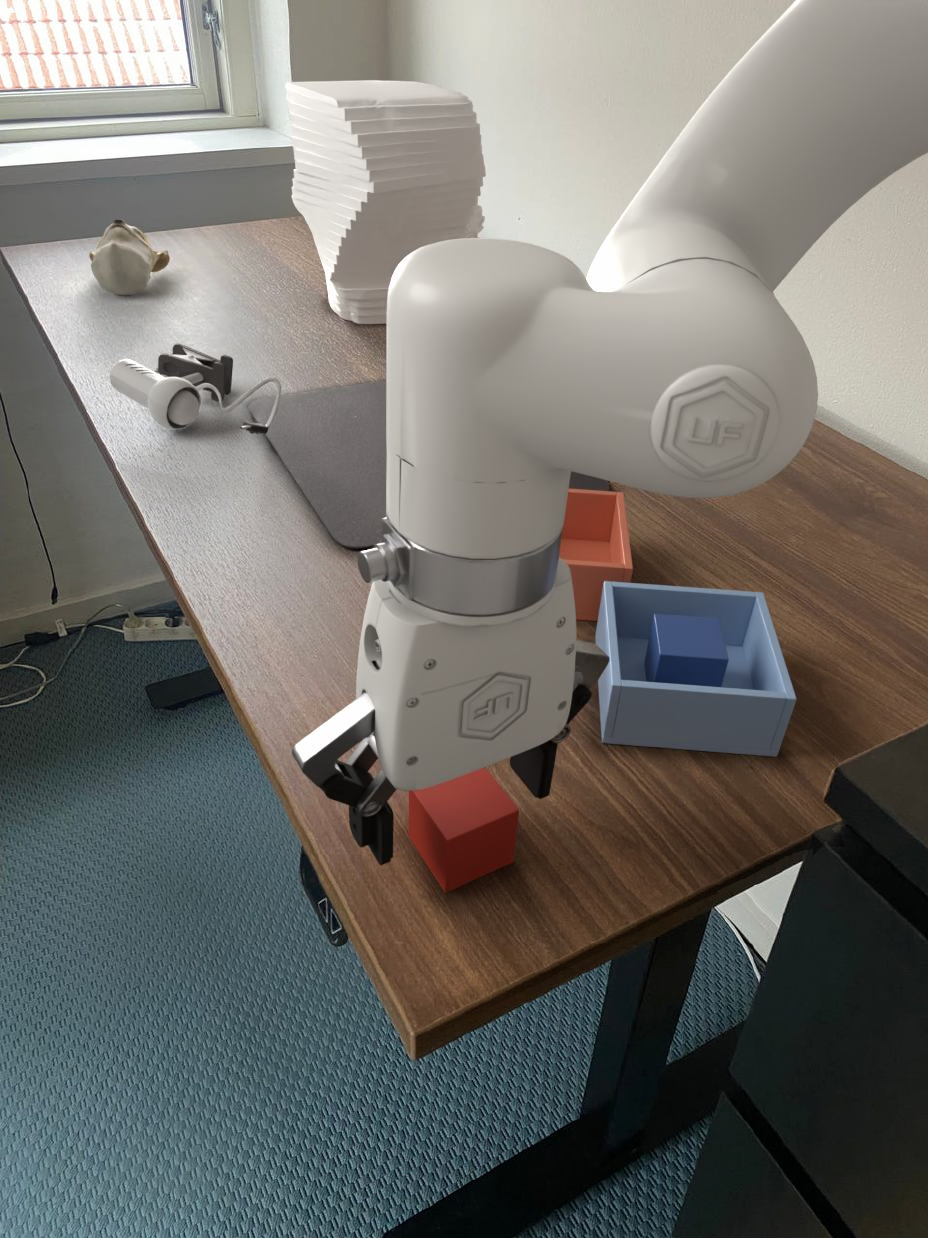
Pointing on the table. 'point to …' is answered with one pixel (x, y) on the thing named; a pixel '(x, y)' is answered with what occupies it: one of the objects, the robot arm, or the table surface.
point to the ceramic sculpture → (125, 259)
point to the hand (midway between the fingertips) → (454, 811)
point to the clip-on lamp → (183, 386)
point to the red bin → (595, 546)
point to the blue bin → (689, 714)
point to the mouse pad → (344, 456)
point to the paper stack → (381, 180)
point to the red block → (463, 828)
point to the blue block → (686, 651)
